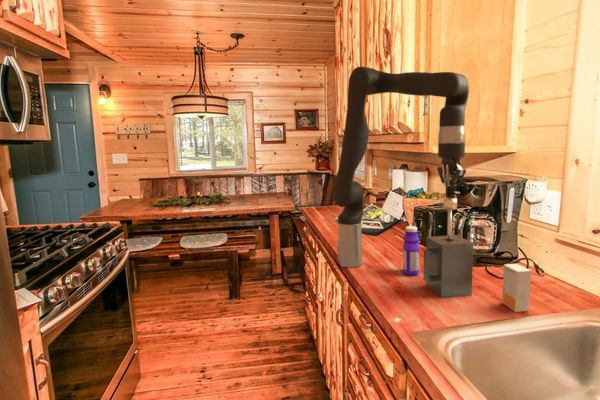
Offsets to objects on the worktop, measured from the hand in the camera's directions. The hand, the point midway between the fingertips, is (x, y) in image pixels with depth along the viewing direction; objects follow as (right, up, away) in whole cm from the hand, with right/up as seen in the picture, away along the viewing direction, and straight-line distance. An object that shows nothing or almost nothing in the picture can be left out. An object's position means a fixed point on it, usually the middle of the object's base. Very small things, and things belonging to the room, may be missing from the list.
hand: (450, 197), depth 112 cm
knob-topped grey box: (0, -30, +5) cm, 30 cm away
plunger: (+1, -19, +3) cm, 20 cm away
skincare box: (+15, -32, -9) cm, 36 cm away
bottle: (-6, -28, +21) cm, 35 cm away
